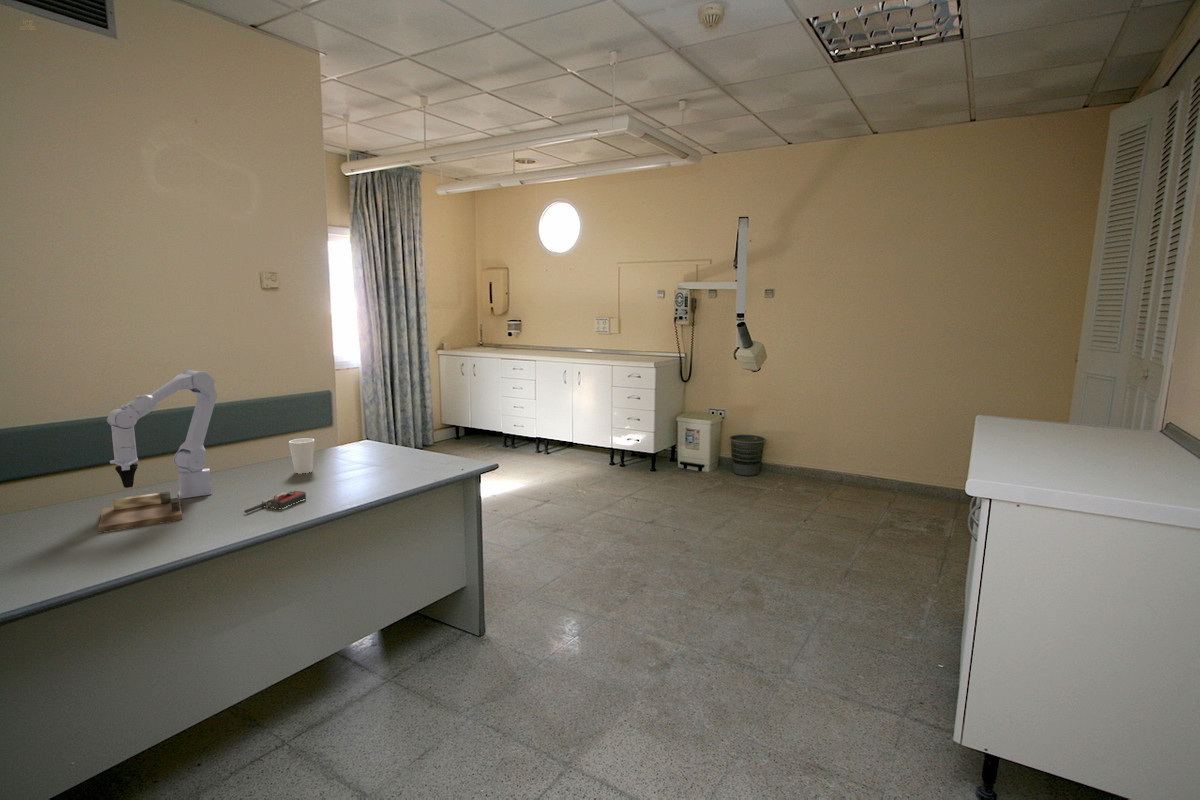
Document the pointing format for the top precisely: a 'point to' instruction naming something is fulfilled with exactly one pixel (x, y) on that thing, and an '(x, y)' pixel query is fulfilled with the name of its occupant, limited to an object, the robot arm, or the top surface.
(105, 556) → the top surface
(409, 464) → the top surface
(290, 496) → the walkie-talkie
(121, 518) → the stool seat
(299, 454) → the foam cup
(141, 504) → the folding leg
